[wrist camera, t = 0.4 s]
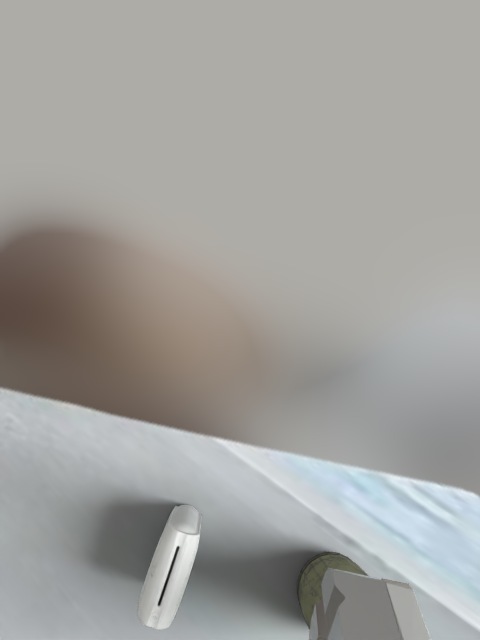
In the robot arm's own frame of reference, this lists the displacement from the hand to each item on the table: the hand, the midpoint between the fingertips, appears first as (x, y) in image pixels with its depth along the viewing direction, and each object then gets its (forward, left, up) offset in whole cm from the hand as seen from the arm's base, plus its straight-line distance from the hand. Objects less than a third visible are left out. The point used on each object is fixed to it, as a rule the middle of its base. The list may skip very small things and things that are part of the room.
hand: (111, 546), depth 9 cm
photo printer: (-13, +5, -53) cm, 55 cm away
